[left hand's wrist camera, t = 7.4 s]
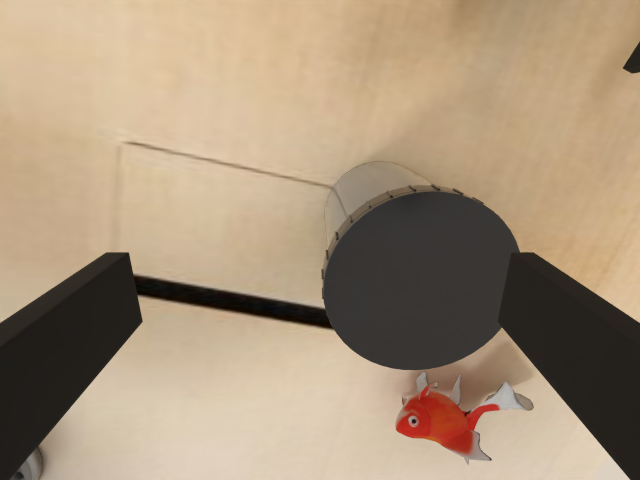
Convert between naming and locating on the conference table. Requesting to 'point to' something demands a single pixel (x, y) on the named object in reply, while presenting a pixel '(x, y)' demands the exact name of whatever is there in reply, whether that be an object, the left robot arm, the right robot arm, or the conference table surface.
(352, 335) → the lid
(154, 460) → the conference table surface
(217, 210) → the conference table surface
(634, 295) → the conference table surface
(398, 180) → the jar
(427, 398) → the fish
